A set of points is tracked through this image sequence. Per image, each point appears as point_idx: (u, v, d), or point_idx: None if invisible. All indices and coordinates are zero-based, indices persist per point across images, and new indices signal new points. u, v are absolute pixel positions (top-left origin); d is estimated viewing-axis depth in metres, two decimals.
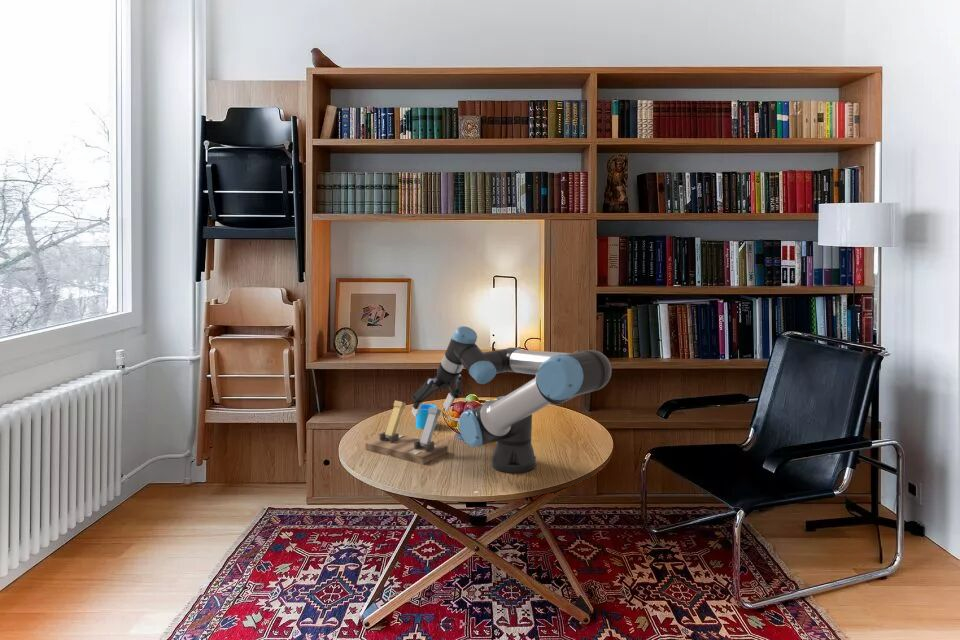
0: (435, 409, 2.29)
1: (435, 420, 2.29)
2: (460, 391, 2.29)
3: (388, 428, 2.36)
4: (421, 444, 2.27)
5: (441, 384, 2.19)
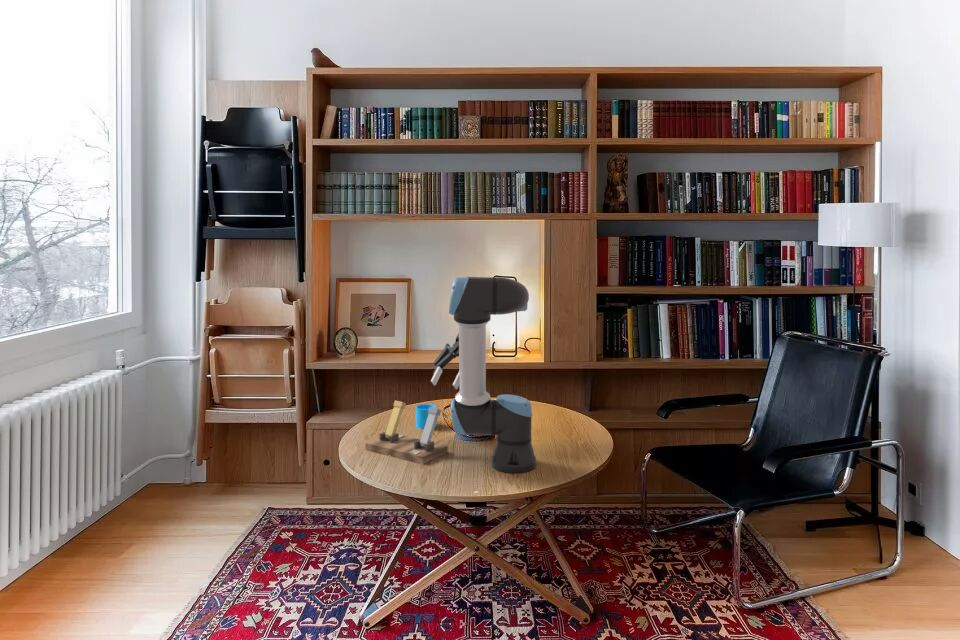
0: (435, 409, 2.29)
1: (435, 420, 2.29)
2: None
3: (388, 428, 2.36)
4: (421, 444, 2.27)
5: None
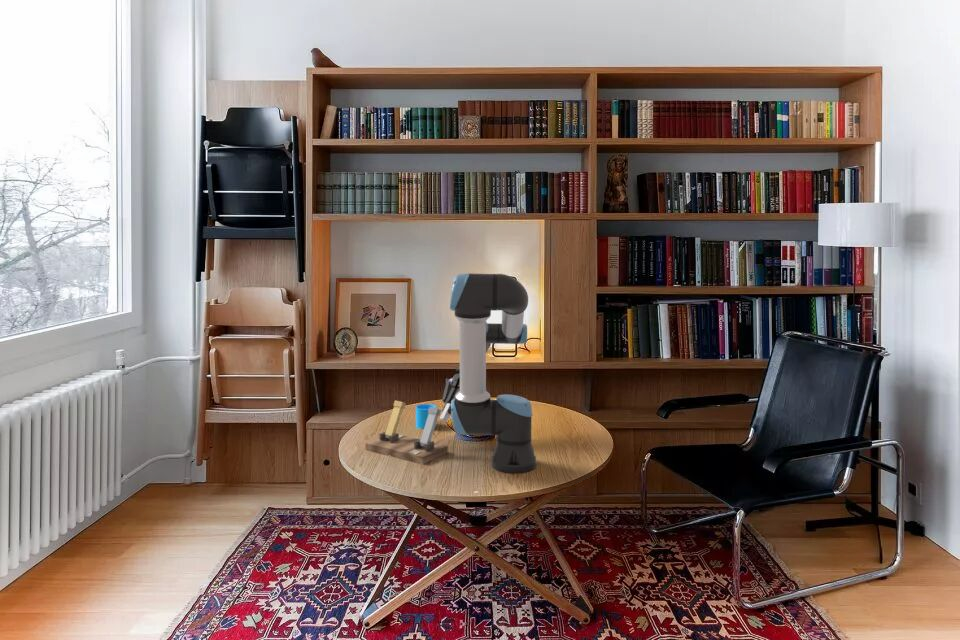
0: (435, 409, 2.29)
1: (435, 420, 2.29)
2: None
3: (388, 428, 2.36)
4: (421, 444, 2.27)
5: None
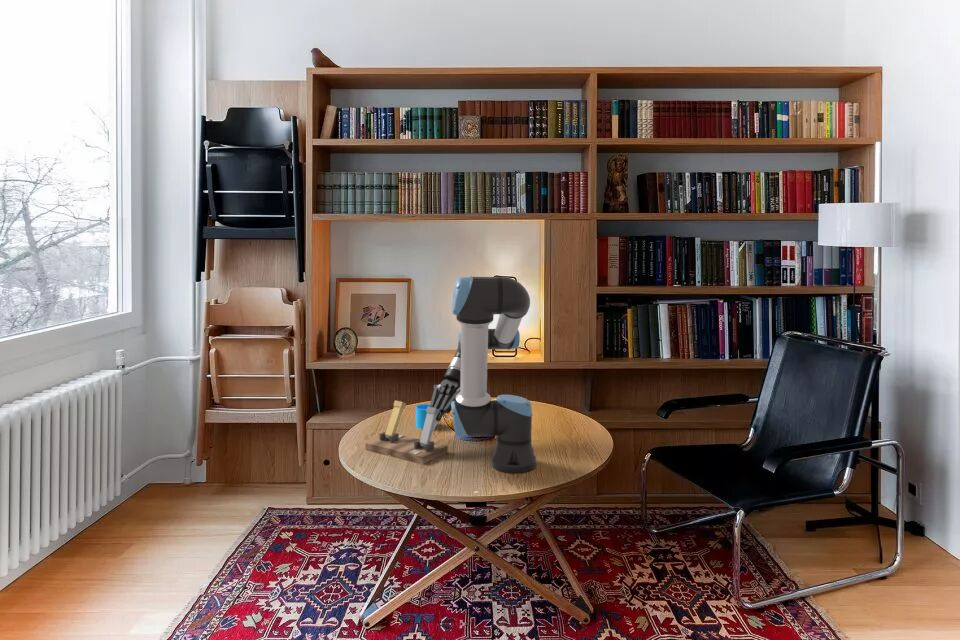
0: (433, 408, 2.28)
1: (434, 419, 2.28)
2: (447, 405, 2.32)
3: (388, 428, 2.36)
4: (421, 444, 2.27)
5: None
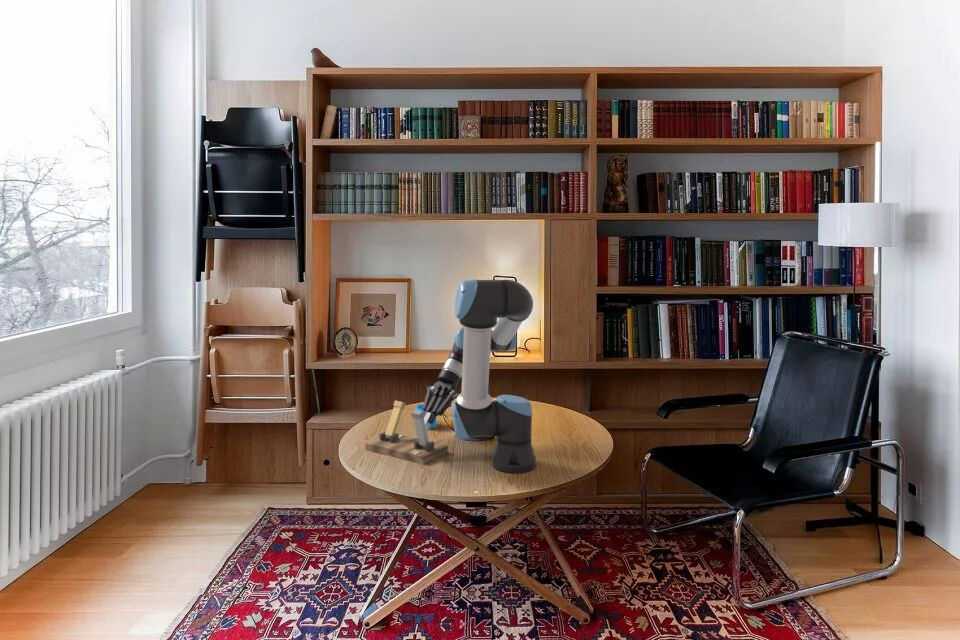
0: (417, 415, 2.21)
1: (422, 423, 2.23)
2: (440, 407, 2.29)
3: (388, 428, 2.36)
4: (421, 445, 2.27)
5: None
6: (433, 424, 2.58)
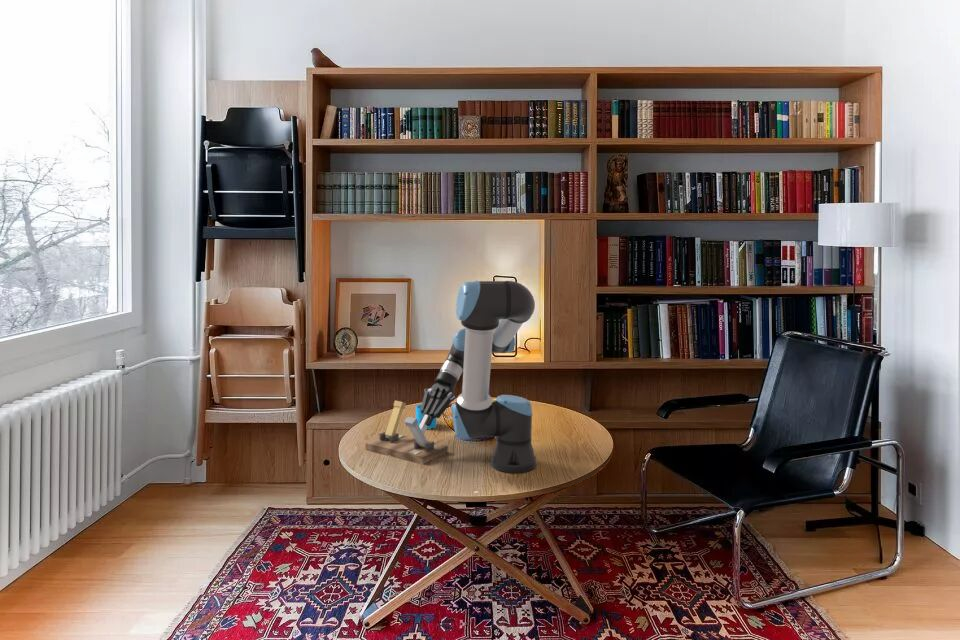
0: (411, 424, 2.18)
1: (418, 428, 2.21)
2: (438, 409, 2.27)
3: (388, 428, 2.36)
4: (421, 446, 2.27)
5: None
6: (433, 424, 2.58)
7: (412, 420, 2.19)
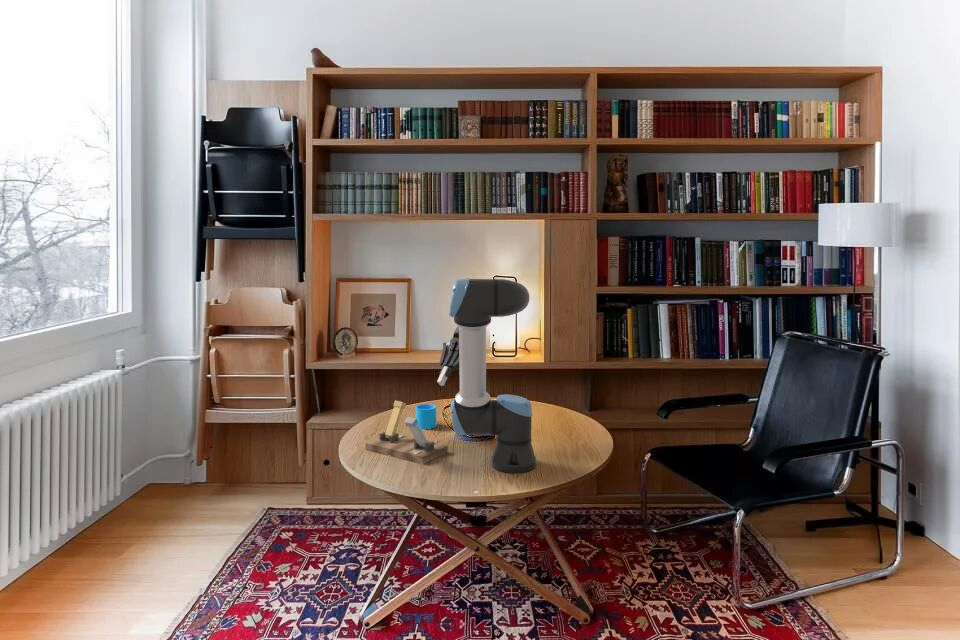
0: (410, 424, 2.18)
1: (417, 428, 2.21)
2: (457, 361, 2.33)
3: (388, 428, 2.36)
4: (421, 446, 2.27)
5: None
6: (433, 424, 2.58)
7: (412, 420, 2.19)
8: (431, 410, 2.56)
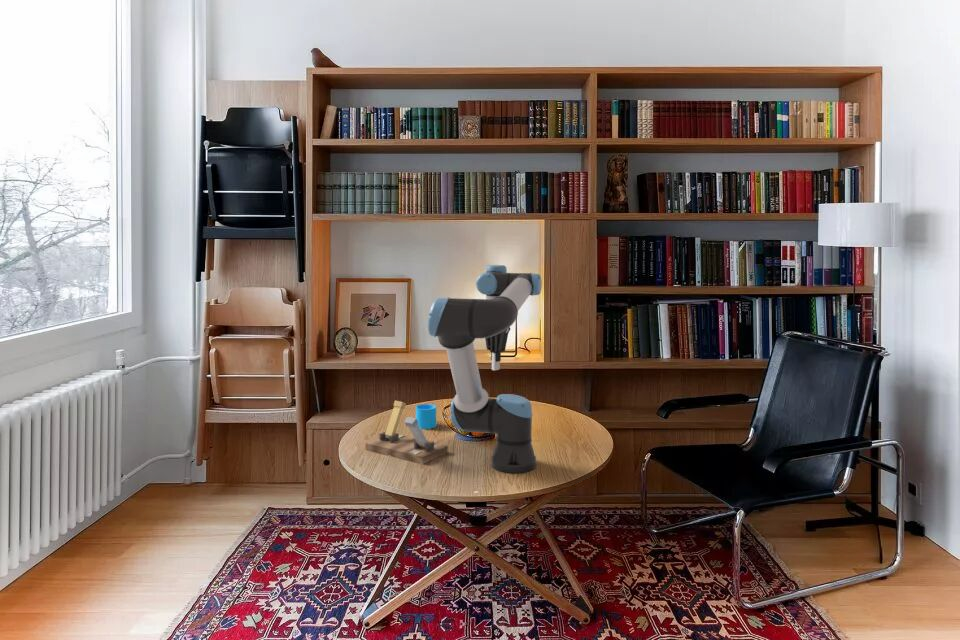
0: (410, 424, 2.18)
1: (417, 428, 2.21)
2: (499, 346, 2.39)
3: (388, 428, 2.36)
4: (421, 446, 2.27)
5: None
6: (433, 424, 2.58)
7: (412, 420, 2.19)
8: (431, 410, 2.56)
